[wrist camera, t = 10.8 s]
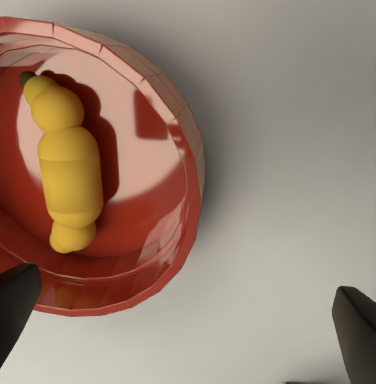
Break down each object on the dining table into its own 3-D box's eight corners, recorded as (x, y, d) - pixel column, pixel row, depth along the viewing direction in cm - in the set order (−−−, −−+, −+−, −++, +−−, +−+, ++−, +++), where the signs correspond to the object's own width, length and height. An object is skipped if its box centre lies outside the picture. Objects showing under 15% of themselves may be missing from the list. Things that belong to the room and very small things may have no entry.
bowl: (189, 277, 24) (181, 336, 19) (-11, 245, 24) (-71, 293, 19) (223, 48, 17) (225, 43, 12) (-52, 13, 18) (-159, -5, 13)
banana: (118, 254, 22) (79, 280, 19) (77, 234, 24) (36, 256, 21) (105, 73, 17) (50, 75, 14) (54, 70, 19) (-2, 70, 16)
